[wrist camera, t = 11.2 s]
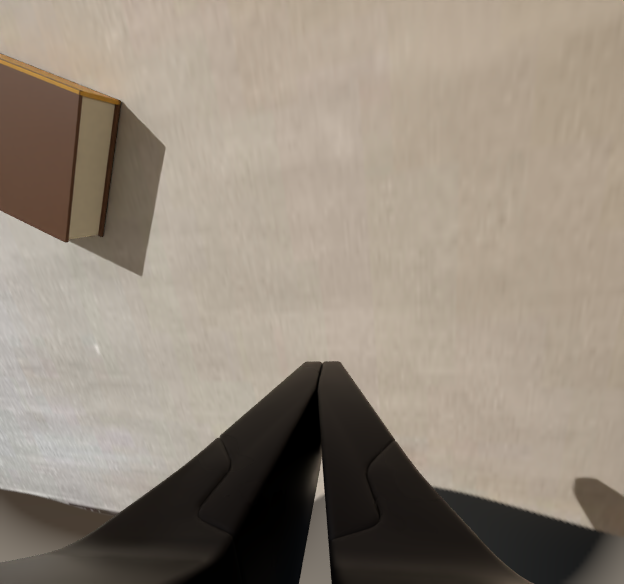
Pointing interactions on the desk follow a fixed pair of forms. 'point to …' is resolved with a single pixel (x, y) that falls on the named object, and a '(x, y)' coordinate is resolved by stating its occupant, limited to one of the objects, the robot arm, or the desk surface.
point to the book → (55, 151)
